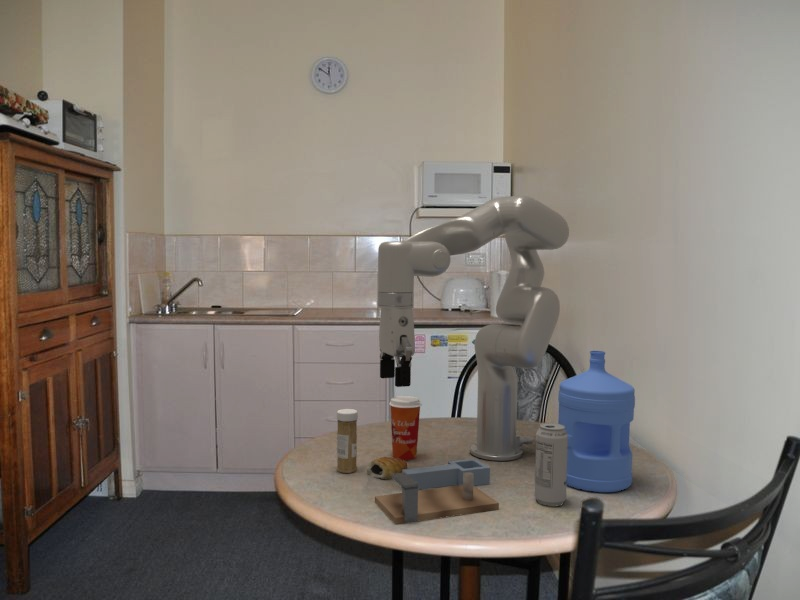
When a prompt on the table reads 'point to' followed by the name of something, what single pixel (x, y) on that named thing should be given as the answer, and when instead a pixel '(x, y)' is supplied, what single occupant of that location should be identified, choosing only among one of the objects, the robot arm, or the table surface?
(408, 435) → the paper cup
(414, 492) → the keeper
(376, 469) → the pastry
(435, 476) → the link
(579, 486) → the water jug
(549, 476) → the energy drink can
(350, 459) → the sprinkles bottle
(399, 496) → the board
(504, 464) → the table surface
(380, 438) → the table surface
